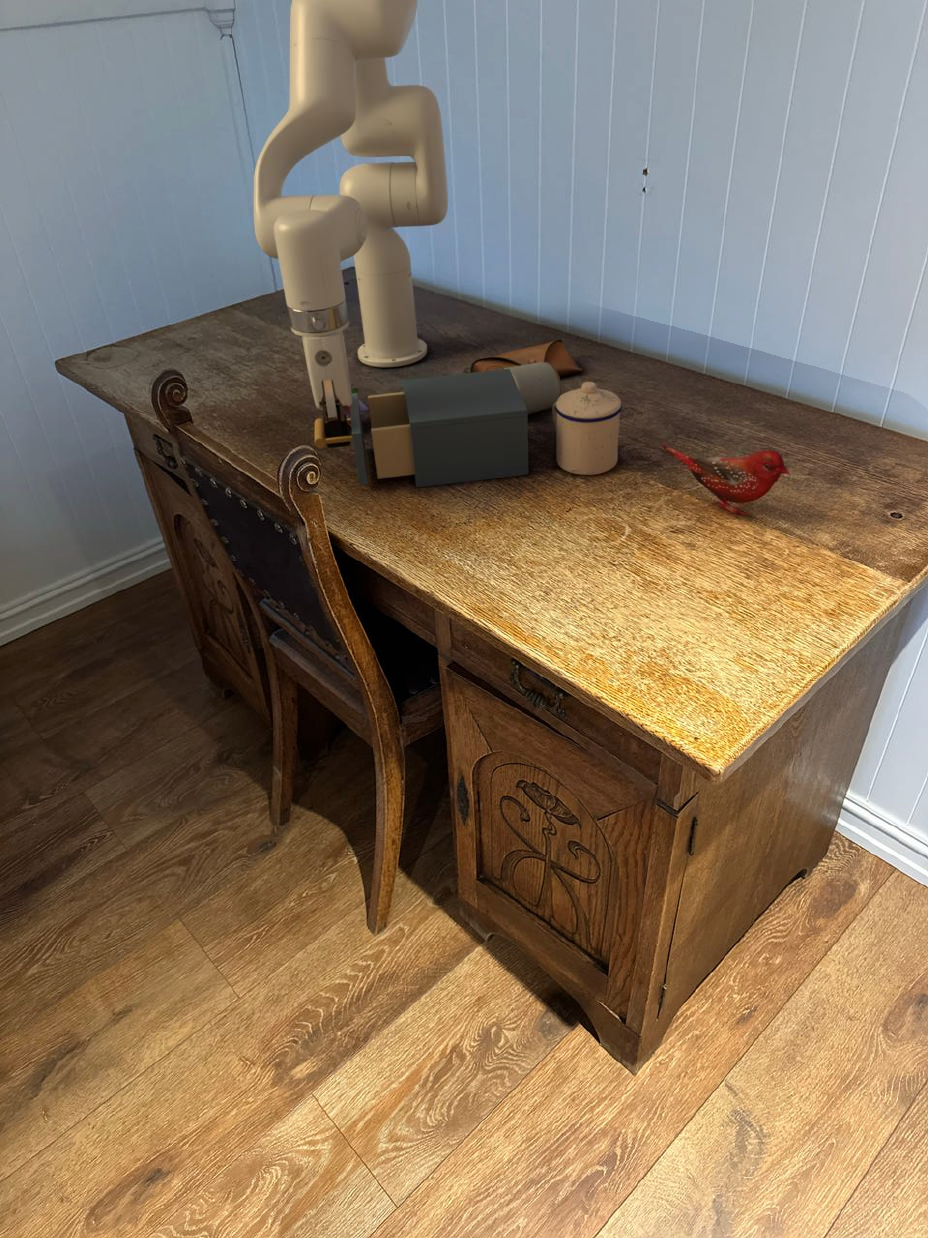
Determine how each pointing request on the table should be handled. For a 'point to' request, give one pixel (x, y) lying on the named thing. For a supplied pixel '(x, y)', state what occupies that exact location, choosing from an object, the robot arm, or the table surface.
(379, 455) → the drawer
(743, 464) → the decorative bird figurine
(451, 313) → the table surface
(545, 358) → the sunglasses case
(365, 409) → the geometric puzzle
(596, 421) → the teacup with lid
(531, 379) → the ceramic mug
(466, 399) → the cabinet
